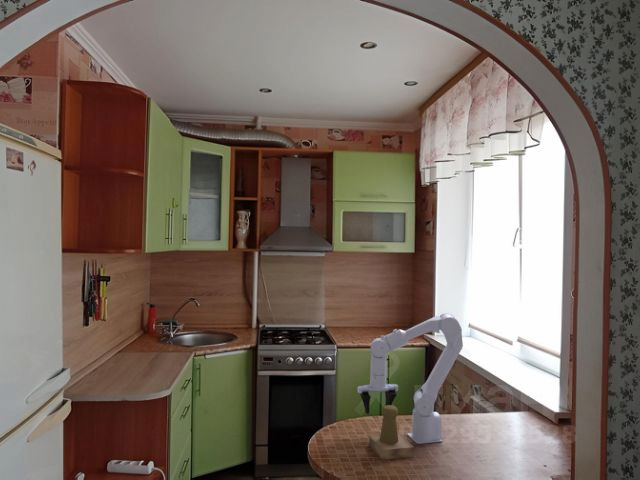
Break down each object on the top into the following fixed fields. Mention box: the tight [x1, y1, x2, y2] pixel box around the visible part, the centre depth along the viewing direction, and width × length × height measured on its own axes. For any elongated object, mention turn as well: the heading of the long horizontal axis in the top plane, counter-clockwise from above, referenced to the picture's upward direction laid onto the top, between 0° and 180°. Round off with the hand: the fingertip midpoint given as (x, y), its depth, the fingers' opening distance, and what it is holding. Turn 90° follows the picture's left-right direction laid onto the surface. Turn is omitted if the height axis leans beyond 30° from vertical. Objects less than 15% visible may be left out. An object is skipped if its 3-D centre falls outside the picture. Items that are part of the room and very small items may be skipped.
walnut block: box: [368, 432, 415, 460], centre depth 156 cm, size 11×11×3 cm
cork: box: [379, 405, 399, 444], centre depth 157 cm, size 6×6×11 cm
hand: (377, 412), depth 168 cm, fingers open, 7 cm apart
